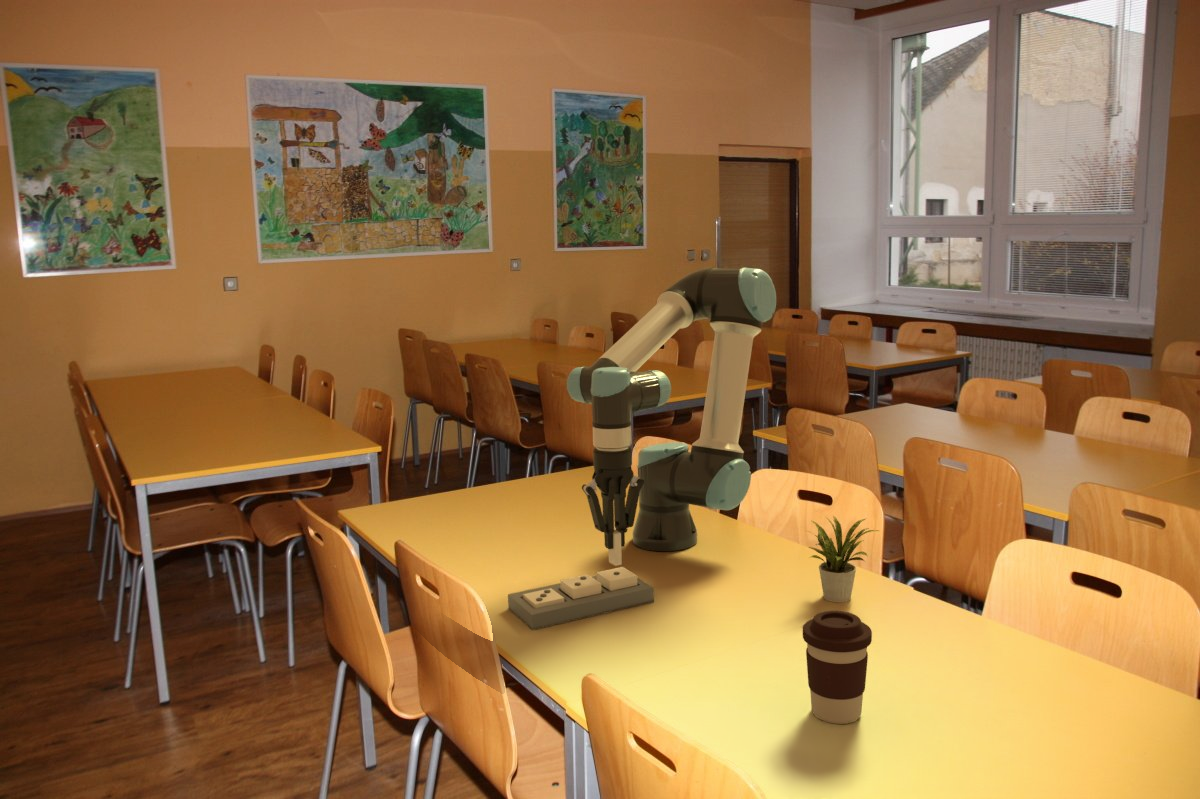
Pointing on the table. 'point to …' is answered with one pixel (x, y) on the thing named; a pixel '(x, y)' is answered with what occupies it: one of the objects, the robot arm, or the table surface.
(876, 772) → the table surface
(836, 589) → the house plant
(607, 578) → the key one
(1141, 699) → the table surface
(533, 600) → the key three
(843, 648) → the coffee cup
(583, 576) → the key two
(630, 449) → the robot arm
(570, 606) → the keypad
